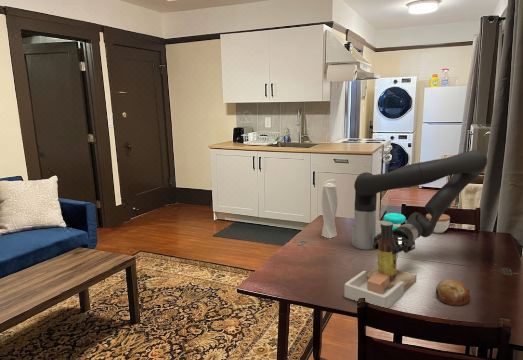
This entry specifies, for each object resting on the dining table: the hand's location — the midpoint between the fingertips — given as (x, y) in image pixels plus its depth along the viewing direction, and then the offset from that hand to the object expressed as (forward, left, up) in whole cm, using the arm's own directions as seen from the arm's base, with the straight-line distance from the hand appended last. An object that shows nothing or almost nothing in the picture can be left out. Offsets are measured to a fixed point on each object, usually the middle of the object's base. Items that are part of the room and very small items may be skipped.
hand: (383, 249), depth 132 cm
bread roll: (+20, +8, -15) cm, 26 cm away
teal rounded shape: (-20, +54, -15) cm, 60 cm away
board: (0, +6, -14) cm, 16 cm away
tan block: (0, -2, -12) cm, 12 cm away
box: (0, -6, -14) cm, 16 cm away
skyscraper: (-43, +33, -15) cm, 56 cm away
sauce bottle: (0, +3, -11) cm, 12 cm away
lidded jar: (-6, +72, -15) cm, 74 cm away
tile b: (0, -4, -11) cm, 12 cm away
